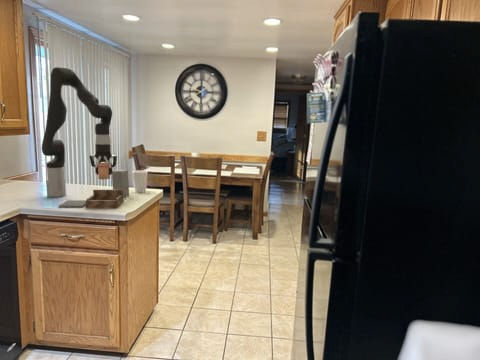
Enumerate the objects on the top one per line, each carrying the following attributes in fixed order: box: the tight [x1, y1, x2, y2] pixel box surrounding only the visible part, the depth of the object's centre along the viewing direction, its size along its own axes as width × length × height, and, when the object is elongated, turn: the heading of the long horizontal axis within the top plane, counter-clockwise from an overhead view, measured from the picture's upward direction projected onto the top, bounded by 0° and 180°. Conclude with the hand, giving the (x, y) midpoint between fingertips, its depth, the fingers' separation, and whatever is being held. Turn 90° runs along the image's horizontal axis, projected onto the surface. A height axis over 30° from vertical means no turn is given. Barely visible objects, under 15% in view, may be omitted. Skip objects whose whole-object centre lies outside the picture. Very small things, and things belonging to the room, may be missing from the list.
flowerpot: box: [97, 162, 111, 180], centre depth 184 cm, size 7×7×9 cm
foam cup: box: [131, 169, 149, 193], centre depth 223 cm, size 10×9×13 cm
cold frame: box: [85, 189, 125, 209], centre depth 187 cm, size 16×14×7 cm
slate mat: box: [58, 199, 86, 209], centre depth 186 cm, size 12×12×1 cm
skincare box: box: [111, 169, 130, 197], centre depth 208 cm, size 8×7×16 cm
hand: (104, 174), depth 185 cm, fingers closed on flowerpot, 5 cm apart
